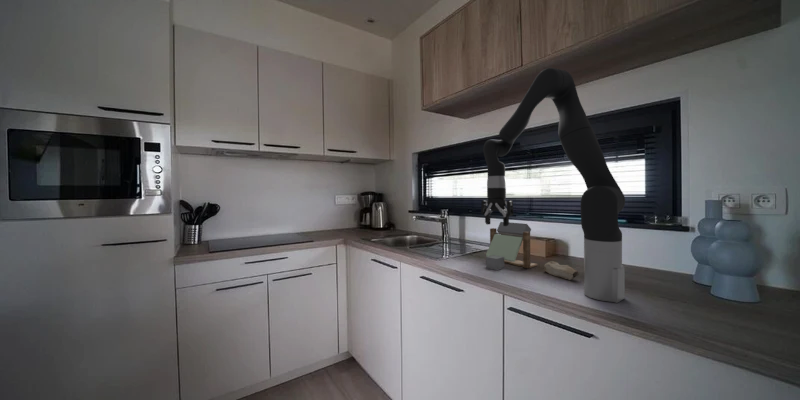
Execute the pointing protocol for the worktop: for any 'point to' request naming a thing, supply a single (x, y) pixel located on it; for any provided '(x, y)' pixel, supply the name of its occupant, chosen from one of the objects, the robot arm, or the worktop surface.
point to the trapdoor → (507, 241)
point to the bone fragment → (560, 270)
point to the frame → (526, 249)
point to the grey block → (495, 262)
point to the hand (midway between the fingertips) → (496, 225)
